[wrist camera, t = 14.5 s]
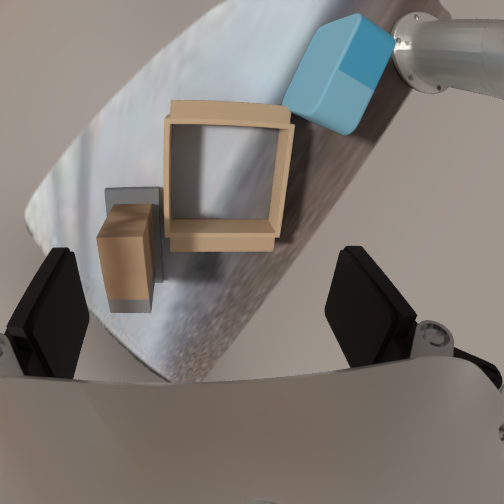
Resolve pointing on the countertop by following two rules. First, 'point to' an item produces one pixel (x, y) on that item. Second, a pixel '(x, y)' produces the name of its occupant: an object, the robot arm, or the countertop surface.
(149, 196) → the mat
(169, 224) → the carton
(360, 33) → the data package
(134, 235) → the walnut box
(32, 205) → the countertop surface
